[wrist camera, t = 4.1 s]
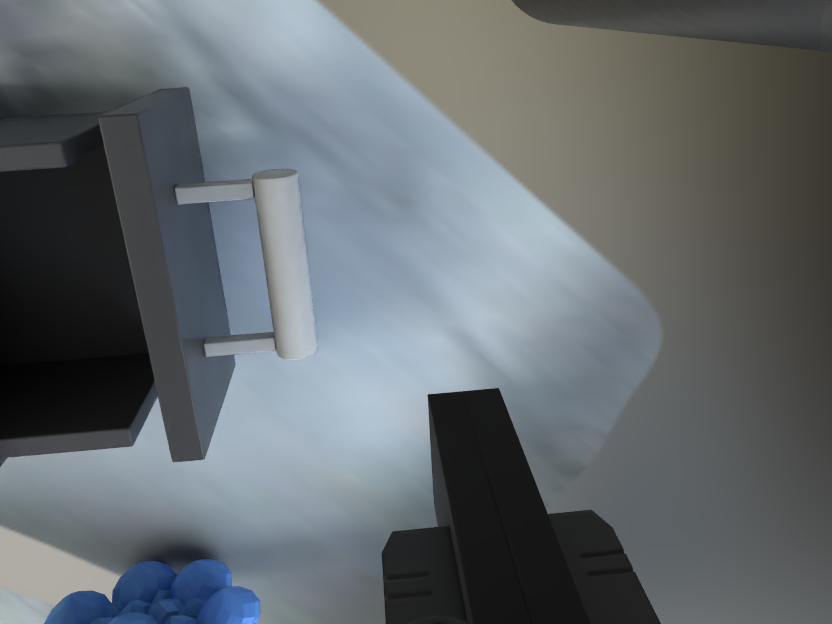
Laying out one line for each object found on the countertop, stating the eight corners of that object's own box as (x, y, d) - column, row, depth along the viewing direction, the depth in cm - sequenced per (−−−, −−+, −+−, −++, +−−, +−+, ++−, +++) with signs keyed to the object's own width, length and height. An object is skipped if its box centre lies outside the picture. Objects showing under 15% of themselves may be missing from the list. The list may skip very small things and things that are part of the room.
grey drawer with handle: (297, 79, 30) (280, 103, 23) (328, 357, 35) (322, 449, 28) (-188, 112, 29) (-367, 147, 22) (-88, 392, 34) (-207, 497, 27)
